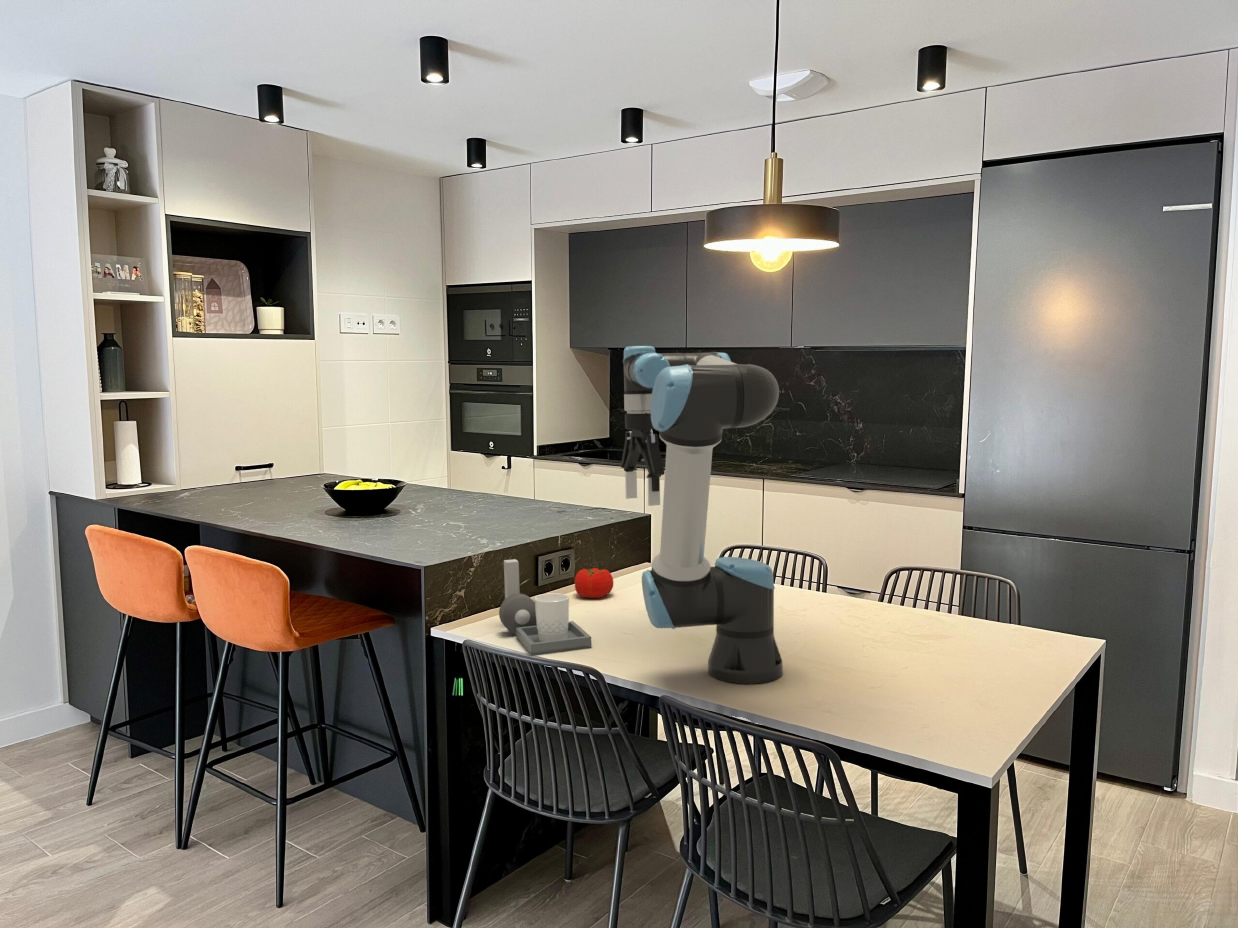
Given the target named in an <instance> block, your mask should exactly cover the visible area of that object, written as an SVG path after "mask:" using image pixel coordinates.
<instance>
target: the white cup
mask: <svg viewBox="0 0 1238 928" xmlns="http://www.w3.org/2000/svg"><path fill="white" fill-rule="evenodd" d="M534 602H535V611H536V623H537V630H538V639H539V641H540V642H544V641H552V640H560V639H568V622H570V621H569V619H570V617H569V616H570V615H569V613H570V596H569V595H568V594H565V593H559V592H555V593H554V592H551V593H550V592H549V593H542V594H538V595H536V596H534Z"/></svg>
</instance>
